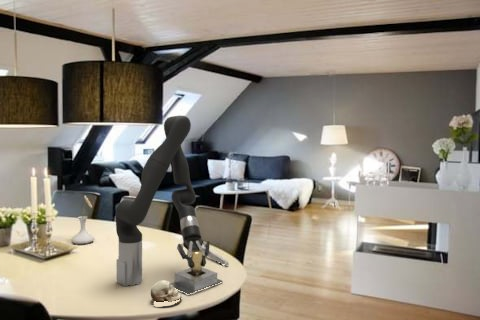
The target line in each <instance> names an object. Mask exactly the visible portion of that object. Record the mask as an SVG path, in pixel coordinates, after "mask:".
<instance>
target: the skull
mask: <svg viewBox="0 0 480 320" xmlns="http://www.w3.org/2000/svg"><path fill="white" fill-rule="evenodd" d="M170 284H171V282H170V281H168V280H166V279H165V280H164V279H163V280H162V279H161V280H159V281H157V282H156V283H155V284H153V286H152V287H151V289H150V297H151V300H153V301H156V302H164V301H168V302H172V301H176V300H179V299H180V301H179V302H177V303H175V304H176V305H177V304H179V303H180V302H181V301H182V299H183V298H182V296H181V294H179V291H178V290H176V289H175V288H174V287H173V285H170ZM181 298H182V299H181Z"/></svg>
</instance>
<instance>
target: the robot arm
mask: <svg viewBox="0 0 480 320" xmlns="http://www.w3.org/2000/svg"><path fill="white" fill-rule="evenodd" d="M191 126H192V125H191V120H190V118H189V117H188V116H186V115H174V116H169V117H167V118H165V120H164V122H163V130H164V135H165V137H166V138H165V140H164V141H162V143H161V144H160V145H159V146H157V148H156V149H155V150H153V152H152V153H151V155H150V156H149V157H148V158H147V161H146V163H145V164H144V166H143V168H142V172H141V181H140V182H141V183H140V188H139V191H138V193H137V196H136V197H135V198H134V200H129V199H124V200H122V201H120V202H119V203H118V205H117V206H116V209H115V228H116V230H115V231H116V235H117V237H118V258H117V259H116V283H118V284H119V285H121V286H123V287H127V286H128V285H131V286H136V285H138V283H139V284H141V283H142V282H143V233H142V232H141V231H140V229H139V228H138V226H139V225H140V224H142V223H143V222H144V220H145V219H146V217H147V215H148V212H149V210H150V208H151V205H152V202H153V200H154V197H155V196H156V193H157V191H158V189H159V186H160V185H161V183H162V181H163V180H164V178H165V176H166V174H167V171H168V170H169V168H170V166H171V165H172V174H173V183H174V184H176V185H182V186H185V188H182V189H175V190H173V192H172V193H171V201H172V203H173V205H174V207H175V209H176V210H177V213H178V217H179V222H180V231H181V236H182V240H183V242H182V243H178V244H177V247H176V250H177V251H178V253H179V255H180V258H181V259H182V260H186V261H187V266H188V267H189V268H193V263H192V258H191V251H193V250H200V251H202V267H203V268H205V266H206V265H207V260H206V258H207V257H208V254H209V250H210V244H211V243H210V242H211V241H209V240H207V241H204V240H203V239H202V235H201V231H200V226H199V221H198V220H197V215H196V210H195V208H194V207H193V206H192V204H194V203H195V202H196V199H197V195H196V192H195V190H194V188H193V185H192V181H191V177H190V167H189V163H188V160H187V158H186V156H185V154H184V151H183V148H182V144H183V143H184V141H185V140H186V138H187V137H188V135H189V133H190V131H191V128H192V127H191ZM202 245H203V246H204V247H205V253H204V252H203V249H202V247H201V246H202ZM184 249H186V251H187V253H186V252H185V250H184ZM141 281H142V282H141ZM140 282H141V283H140ZM135 284H136V285H135ZM128 287H129V286H128Z"/></svg>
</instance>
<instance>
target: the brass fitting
mask: <svg viewBox="0 0 480 320" xmlns="http://www.w3.org/2000/svg"><path fill="white" fill-rule="evenodd" d="M191 258H192V263H193V268H191V275H192V276H195V277H197V276H200V275H202V251H200V250H193V251H191Z"/></svg>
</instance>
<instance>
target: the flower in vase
mask: <svg viewBox="0 0 480 320" xmlns="http://www.w3.org/2000/svg"><path fill="white" fill-rule="evenodd" d="M84 200H85V203H84V205H83V208H82V212H81V213H80V216H78V217H77V219H78V220H79V223H80V229H79V232H78V233H76V234H75V235H74V236H73V237H72V238H71V242H72V243H74V244H81V245H82V244H89V243H92V242H93V241H94V240H95V237H94V235H92V234H91V233H89V232H88V231H87V230H86V221H87V219H88V216H87V215H84V214H86V213H87V212H86V209H85V207H86V204H87V205H88V206H89V207H90V208H91V209H92V208H93V205H92V203H91V201H90V200H89V198H88V197H87V196H86V195H84Z"/></svg>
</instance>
